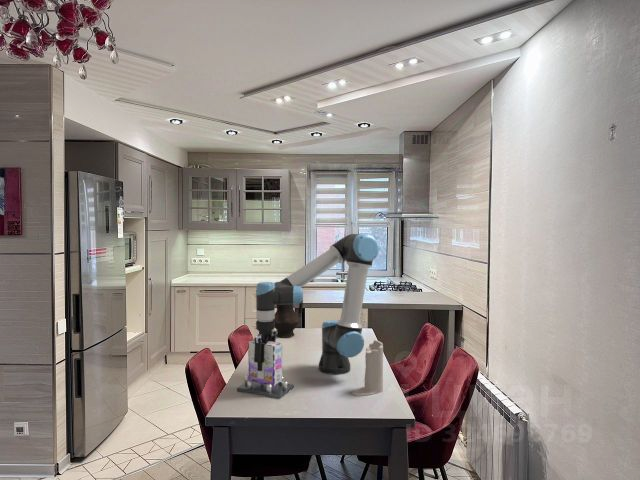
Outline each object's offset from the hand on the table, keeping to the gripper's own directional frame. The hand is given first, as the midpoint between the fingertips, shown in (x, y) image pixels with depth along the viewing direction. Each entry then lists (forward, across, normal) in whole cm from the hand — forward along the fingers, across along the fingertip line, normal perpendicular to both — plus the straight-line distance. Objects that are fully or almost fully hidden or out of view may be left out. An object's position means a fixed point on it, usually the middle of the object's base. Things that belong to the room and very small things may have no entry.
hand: (265, 375), depth 175 cm
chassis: (+6, 0, 0) cm, 6 cm away
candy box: (+3, 0, 0) cm, 3 cm away
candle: (+6, -15, +39) cm, 42 cm away
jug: (+6, -83, -33) cm, 90 cm away
